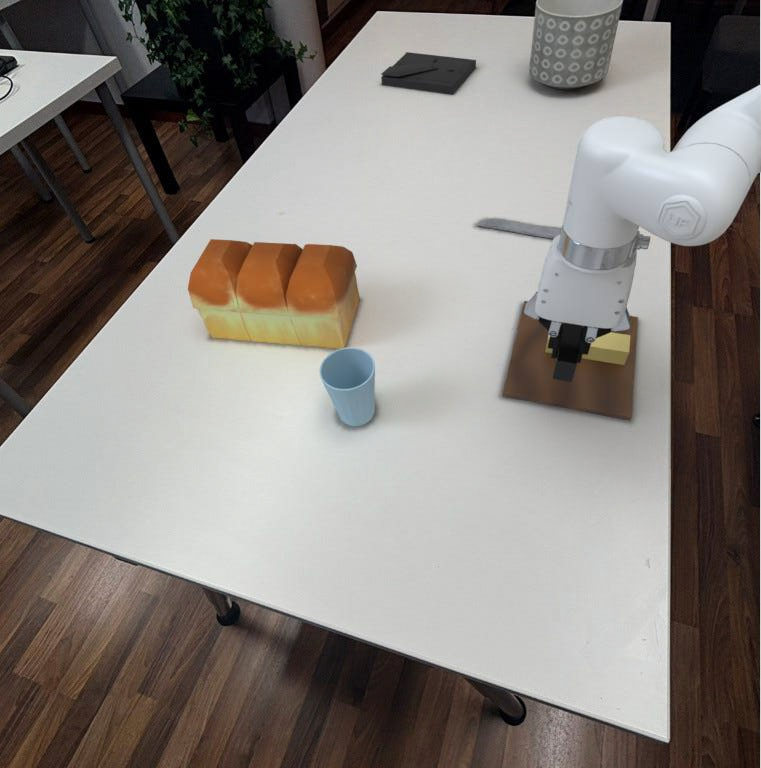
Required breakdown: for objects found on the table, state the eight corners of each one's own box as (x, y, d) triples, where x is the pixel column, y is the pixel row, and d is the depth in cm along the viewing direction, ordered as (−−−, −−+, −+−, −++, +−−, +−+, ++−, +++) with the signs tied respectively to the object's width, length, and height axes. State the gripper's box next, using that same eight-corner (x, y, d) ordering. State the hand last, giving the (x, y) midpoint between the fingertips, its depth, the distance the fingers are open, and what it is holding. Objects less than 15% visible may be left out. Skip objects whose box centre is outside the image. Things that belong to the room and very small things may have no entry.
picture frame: (382, 84, 151) (453, 94, 143) (381, 73, 148) (453, 83, 141) (407, 60, 159) (475, 68, 151) (406, 49, 156) (476, 57, 149)
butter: (625, 348, 86) (630, 335, 83) (624, 365, 84) (629, 352, 81) (571, 339, 88) (575, 326, 85) (569, 356, 86) (572, 343, 83)
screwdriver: (571, 382, 72) (576, 364, 69) (552, 378, 72) (556, 361, 70) (585, 283, 82) (590, 264, 80) (569, 281, 83) (573, 262, 80)
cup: (367, 383, 88) (358, 338, 79) (391, 417, 83) (385, 373, 75) (324, 405, 86) (310, 362, 78) (346, 441, 81) (335, 399, 73)
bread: (362, 298, 100) (350, 230, 88) (346, 350, 92) (331, 283, 81) (233, 289, 105) (206, 223, 93) (208, 338, 97) (175, 273, 86)
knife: (483, 211, 112) (476, 226, 109) (484, 210, 111) (476, 224, 109) (615, 232, 104) (611, 249, 101) (615, 231, 103) (611, 247, 101)
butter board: (636, 321, 90) (638, 316, 89) (629, 420, 79) (631, 416, 78) (523, 304, 95) (524, 300, 94) (502, 396, 84) (502, 392, 83)
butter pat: (561, 338, 88) (564, 325, 86) (558, 354, 86) (561, 341, 84) (548, 336, 89) (550, 323, 86) (545, 352, 87) (547, 339, 84)
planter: (605, 100, 134) (624, 15, 120) (524, 99, 138) (533, 17, 124) (605, 65, 145) (622, -17, 131) (530, 65, 149) (539, -14, 135)
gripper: (677, 228, 60) (632, 342, 74) (525, 211, 64) (510, 323, 78) (676, 274, 56) (629, 385, 70) (514, 253, 60) (501, 363, 74)
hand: (566, 351), depth 74 cm, fingers closed on screwdriver, 2 cm apart
